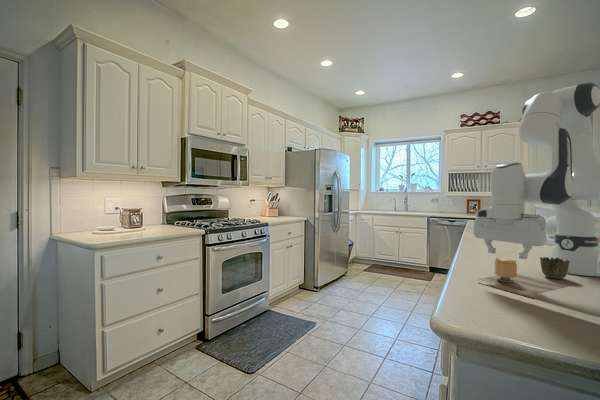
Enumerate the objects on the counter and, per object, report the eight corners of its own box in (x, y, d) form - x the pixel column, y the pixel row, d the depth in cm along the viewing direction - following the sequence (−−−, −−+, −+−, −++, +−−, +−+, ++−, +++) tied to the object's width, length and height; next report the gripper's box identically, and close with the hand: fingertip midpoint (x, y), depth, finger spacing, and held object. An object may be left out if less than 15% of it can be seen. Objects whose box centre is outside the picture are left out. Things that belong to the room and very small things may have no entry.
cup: (575, 285, 93) (575, 261, 93) (552, 285, 93) (552, 260, 93) (555, 279, 101) (555, 256, 101) (534, 279, 101) (534, 256, 101)
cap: (501, 272, 96) (501, 257, 96) (519, 276, 91) (519, 261, 91) (491, 274, 94) (491, 258, 94) (509, 278, 89) (509, 262, 89)
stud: (502, 278, 95) (502, 260, 95) (516, 282, 91) (517, 263, 91) (493, 279, 93) (494, 261, 93) (508, 283, 89) (508, 264, 89)
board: (514, 277, 103) (514, 273, 103) (571, 290, 88) (571, 285, 88) (477, 283, 94) (477, 278, 94) (533, 299, 80) (534, 293, 80)
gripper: (551, 214, 84) (551, 261, 84) (482, 211, 103) (482, 249, 103) (539, 215, 81) (539, 263, 82) (470, 211, 100) (470, 251, 100)
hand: (506, 255), depth 92 cm, fingers open, 8 cm apart
